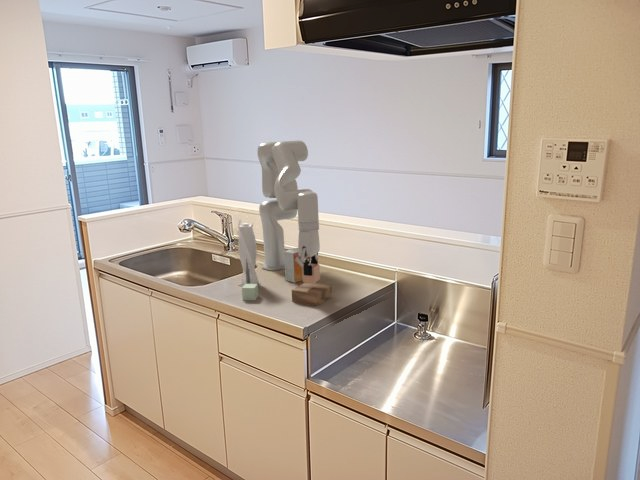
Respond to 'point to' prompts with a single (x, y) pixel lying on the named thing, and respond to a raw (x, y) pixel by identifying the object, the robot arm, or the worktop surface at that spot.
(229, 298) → the worktop surface
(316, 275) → the terracotta block
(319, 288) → the walnut block
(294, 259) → the small box
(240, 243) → the skyscraper
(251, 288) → the sage cube
